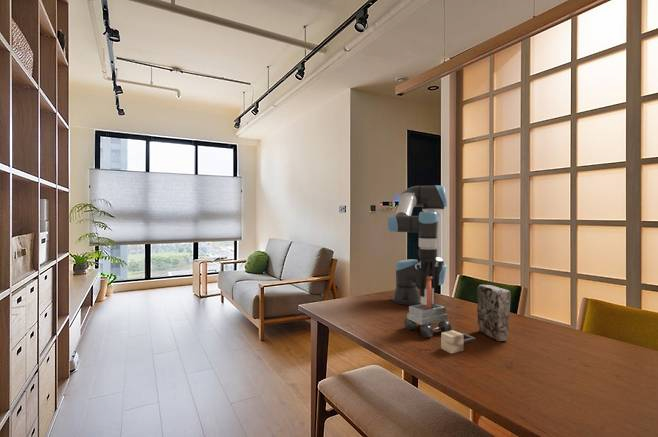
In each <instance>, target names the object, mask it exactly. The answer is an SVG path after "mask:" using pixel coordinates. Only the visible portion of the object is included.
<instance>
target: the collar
mask: <svg viewBox="0 0 658 437" xmlns="http://www.w3.org/2000/svg"><path fill="white" fill-rule="evenodd" d="M460 333H461V334H464V337H465V339H464V344H465V343H469V342H474V341H476V340H477V338H476V337H474V336H473V335H469V334H467V333H465V332H460Z"/></svg>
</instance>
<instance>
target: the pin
mask: <svg viewBox="0 0 658 437" xmlns="http://www.w3.org/2000/svg"><path fill="white" fill-rule="evenodd" d="M431 279H432V276H428V275H427V279H426V287H425V289H427V305H424V304H423V307H425V308H431Z"/></svg>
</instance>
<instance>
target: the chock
mask: <svg viewBox="0 0 658 437" xmlns="http://www.w3.org/2000/svg"><path fill="white" fill-rule="evenodd" d="M440 333H441V332H440ZM461 333H462V332H459V331H456V330H453V329H451V331H447V332H442V333H441V334H440V336H441V337H440V349H441V350H443V351H446V353H449V354H455V353H460V352H463V351H464V344H465V343H464V337H465V336H464V334H461Z"/></svg>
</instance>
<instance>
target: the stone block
mask: <svg viewBox="0 0 658 437" xmlns="http://www.w3.org/2000/svg"><path fill="white" fill-rule="evenodd" d="M476 294H477V295H476V300H477V306H476V307H477V308H476V310H477V326H478V332H480V333H482V334H484V335H485V336H487V337H490V338H491V339H493V340H495V341H497V342H507V341H508V338H509V327H510V315H511V314H510V311H511V299H512V298H511V297H512V296H511V295H512V294H511V291H510V290H508V289H505V288H503V287H502V288H501V287H498V286H496V285H492V284H491V285H490V284H479V285H478V286H477V290H476Z"/></svg>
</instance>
